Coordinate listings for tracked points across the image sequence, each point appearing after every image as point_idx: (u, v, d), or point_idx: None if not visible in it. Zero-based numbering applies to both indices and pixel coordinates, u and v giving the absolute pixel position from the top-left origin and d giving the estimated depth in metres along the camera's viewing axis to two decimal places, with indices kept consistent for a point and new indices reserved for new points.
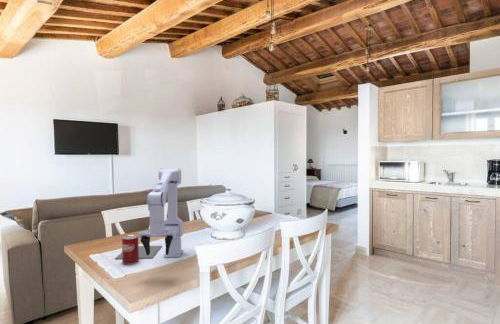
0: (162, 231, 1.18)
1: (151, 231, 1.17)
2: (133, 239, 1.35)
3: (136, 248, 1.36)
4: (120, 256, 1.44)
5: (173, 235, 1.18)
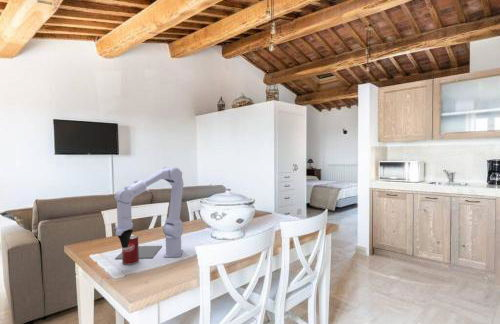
0: (119, 226, 1.26)
1: None
2: (133, 239, 1.35)
3: (136, 248, 1.36)
4: (120, 256, 1.44)
5: None
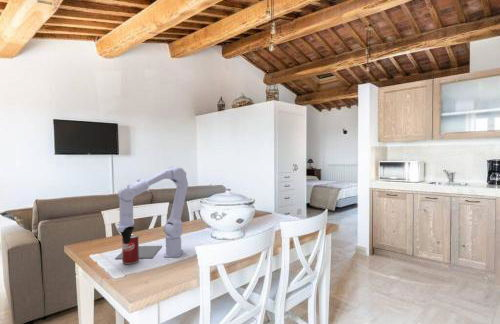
0: (121, 223, 1.31)
1: None
2: (133, 238, 1.36)
3: (136, 247, 1.37)
4: (120, 256, 1.44)
5: None
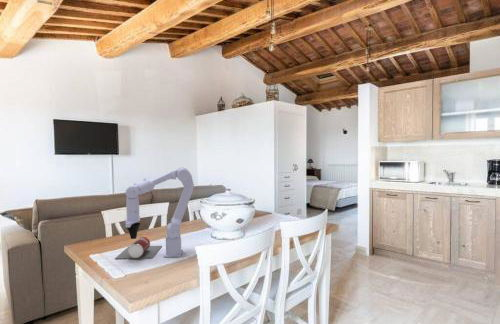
0: (128, 219, 1.39)
1: None
2: None
3: (147, 246, 1.48)
4: (120, 256, 1.44)
5: None
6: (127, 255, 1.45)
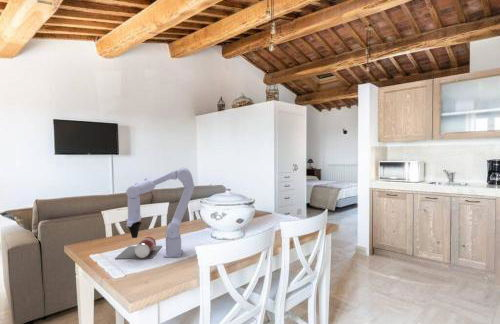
0: (129, 219, 1.41)
1: None
2: None
3: None
4: (120, 256, 1.44)
5: None
6: (127, 255, 1.45)
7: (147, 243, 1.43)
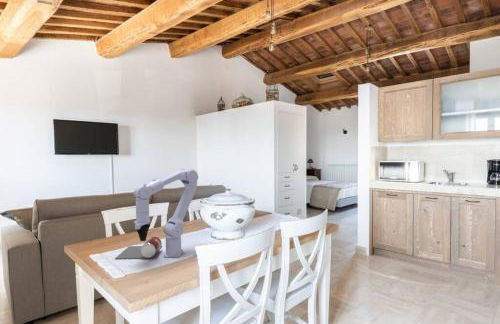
0: (137, 221, 1.34)
1: None
2: None
3: None
4: (120, 256, 1.44)
5: None
6: (127, 255, 1.45)
7: (156, 248, 1.43)
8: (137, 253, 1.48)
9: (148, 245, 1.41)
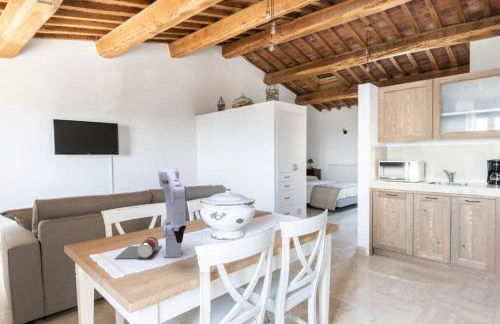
0: (174, 222, 1.31)
1: None
2: None
3: None
4: (120, 256, 1.44)
5: None
6: (127, 255, 1.45)
7: (152, 245, 1.43)
8: (137, 253, 1.48)
9: (142, 245, 1.41)
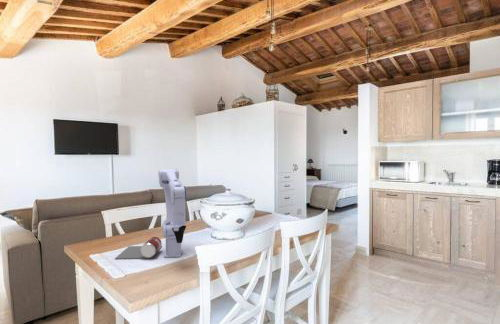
0: (174, 222, 1.31)
1: None
2: None
3: None
4: (120, 256, 1.44)
5: None
6: (127, 255, 1.45)
7: (156, 248, 1.43)
8: (137, 253, 1.48)
9: (148, 245, 1.41)
